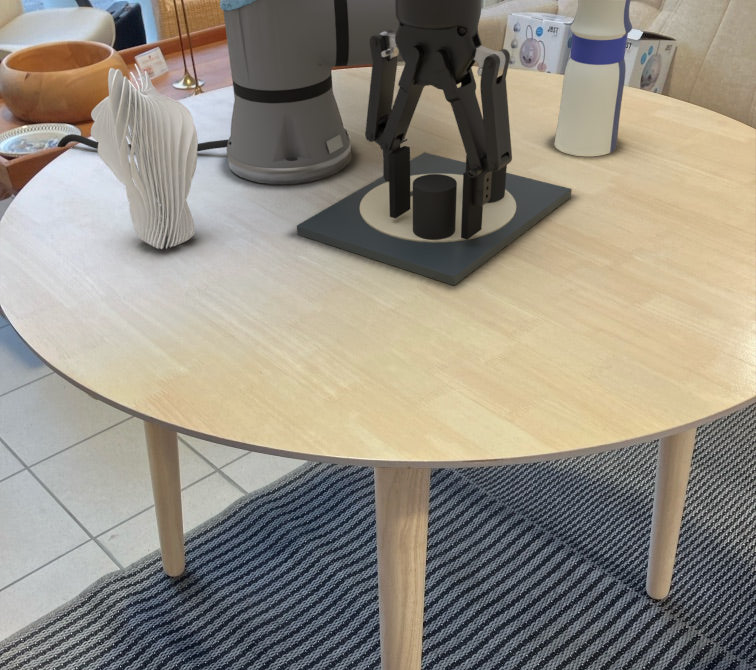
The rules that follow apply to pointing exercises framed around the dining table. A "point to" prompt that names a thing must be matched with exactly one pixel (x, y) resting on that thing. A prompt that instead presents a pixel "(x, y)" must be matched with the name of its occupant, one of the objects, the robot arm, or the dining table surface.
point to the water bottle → (594, 79)
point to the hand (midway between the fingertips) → (434, 222)
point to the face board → (423, 256)
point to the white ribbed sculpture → (149, 156)
